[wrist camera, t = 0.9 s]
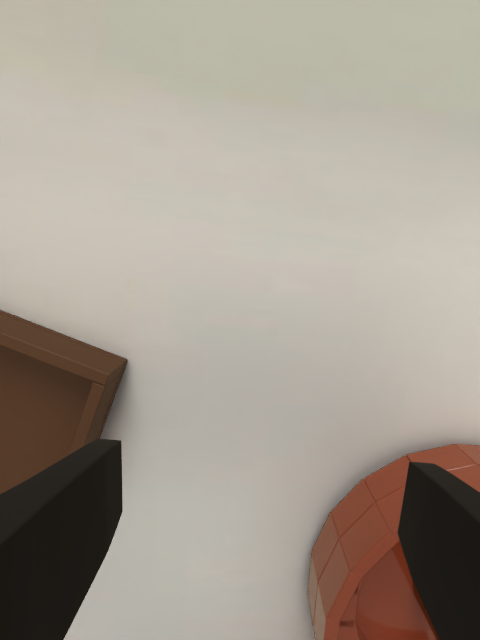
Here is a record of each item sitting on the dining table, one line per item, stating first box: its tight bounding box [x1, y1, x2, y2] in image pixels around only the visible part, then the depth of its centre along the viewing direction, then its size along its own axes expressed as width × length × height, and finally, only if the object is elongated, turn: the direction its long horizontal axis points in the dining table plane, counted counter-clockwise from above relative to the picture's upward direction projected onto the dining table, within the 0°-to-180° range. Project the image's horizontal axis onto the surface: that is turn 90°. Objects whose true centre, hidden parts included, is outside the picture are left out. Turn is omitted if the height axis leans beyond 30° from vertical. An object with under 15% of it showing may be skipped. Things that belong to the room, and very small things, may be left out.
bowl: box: [308, 444, 480, 640], centre depth 19 cm, size 15×15×4 cm
